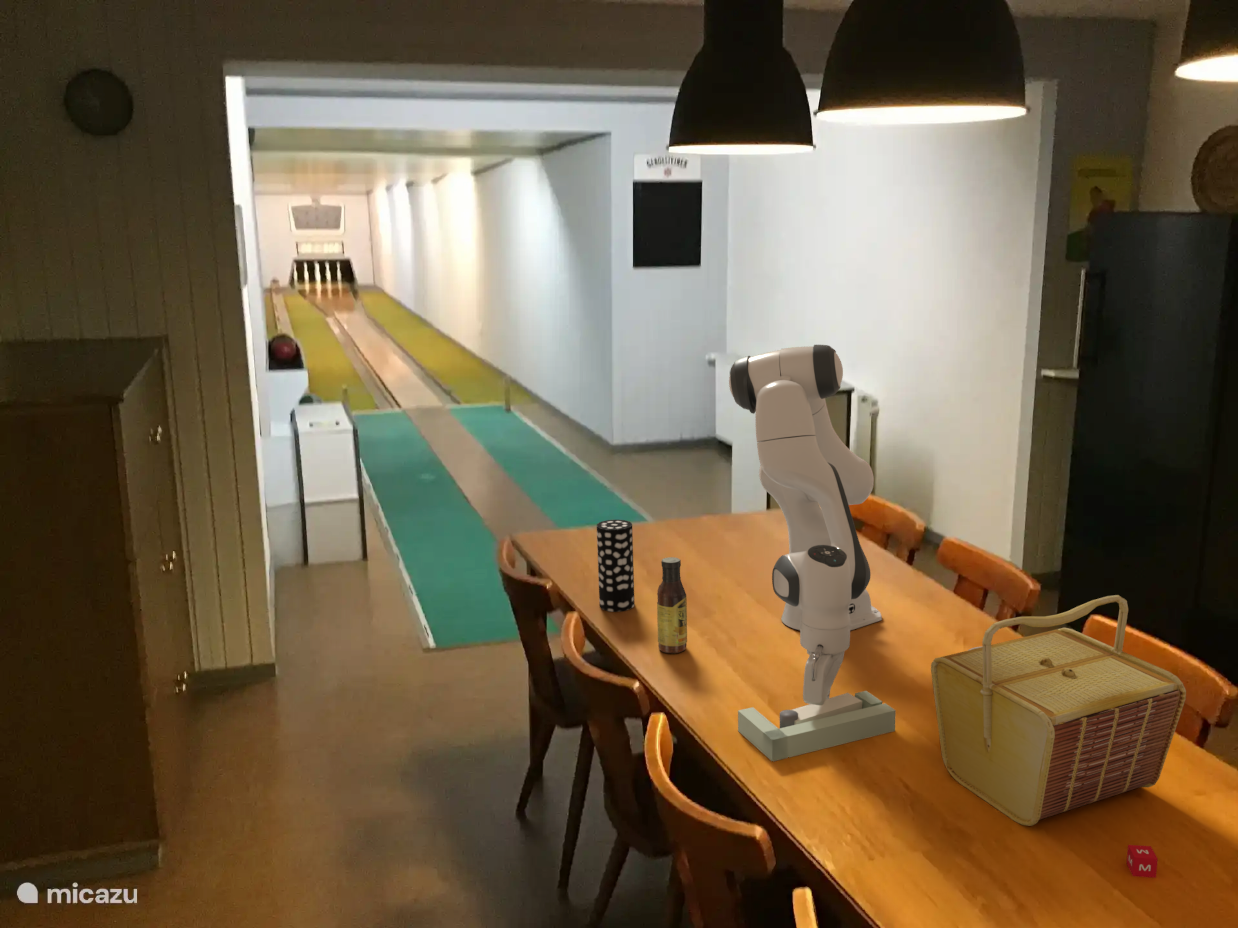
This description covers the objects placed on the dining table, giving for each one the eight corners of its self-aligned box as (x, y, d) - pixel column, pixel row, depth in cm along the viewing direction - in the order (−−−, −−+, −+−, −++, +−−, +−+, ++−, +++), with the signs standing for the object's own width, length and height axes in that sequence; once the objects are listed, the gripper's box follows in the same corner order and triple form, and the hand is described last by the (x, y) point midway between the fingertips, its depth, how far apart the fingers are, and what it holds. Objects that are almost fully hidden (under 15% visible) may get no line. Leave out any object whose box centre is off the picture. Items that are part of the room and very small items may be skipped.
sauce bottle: (685, 655, 223) (683, 565, 219) (655, 654, 225) (653, 564, 220) (689, 643, 230) (687, 555, 225) (660, 641, 231) (658, 554, 226)
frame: (855, 703, 200) (856, 683, 199) (894, 730, 189) (895, 710, 188) (738, 730, 191) (738, 710, 190) (772, 761, 180) (772, 739, 179)
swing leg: (788, 743, 186) (788, 720, 185) (774, 734, 189) (774, 711, 188) (861, 720, 193) (862, 697, 192) (847, 711, 197) (847, 689, 196)
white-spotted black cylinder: (594, 609, 251) (590, 528, 246) (607, 597, 258) (604, 518, 254) (626, 613, 248) (624, 531, 243) (639, 601, 255) (637, 521, 251)
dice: (1132, 876, 147) (1134, 857, 146) (1126, 863, 150) (1127, 844, 149) (1155, 877, 147) (1157, 858, 146) (1149, 864, 149) (1150, 845, 149)
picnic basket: (1037, 849, 154) (1050, 656, 147) (920, 767, 177) (927, 597, 170) (1181, 800, 165) (1200, 619, 158) (1054, 729, 188) (1065, 568, 181)
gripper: (831, 660, 182) (829, 734, 185) (852, 617, 200) (849, 684, 204) (795, 655, 184) (793, 728, 188) (818, 613, 203) (816, 680, 206)
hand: (822, 705), depth 196 cm, fingers closed
